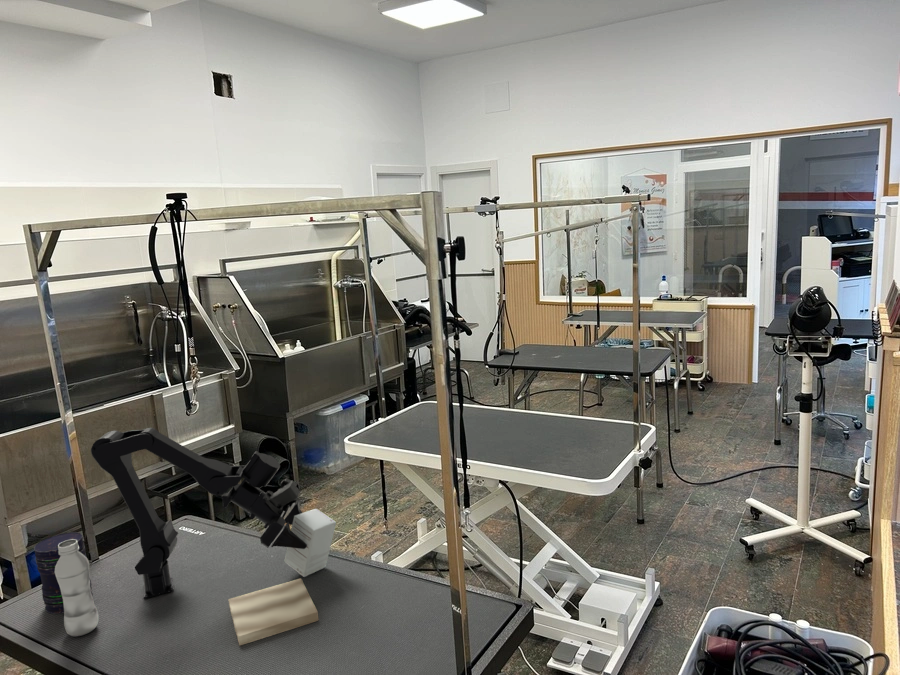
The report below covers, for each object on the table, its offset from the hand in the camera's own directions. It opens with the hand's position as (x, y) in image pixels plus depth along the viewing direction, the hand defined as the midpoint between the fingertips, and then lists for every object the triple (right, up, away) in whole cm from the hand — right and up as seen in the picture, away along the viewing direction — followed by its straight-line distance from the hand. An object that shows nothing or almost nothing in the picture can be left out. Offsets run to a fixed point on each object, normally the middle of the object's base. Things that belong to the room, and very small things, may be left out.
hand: (309, 537), depth 157 cm
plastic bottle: (-45, -15, -17) cm, 50 cm away
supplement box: (-1, -7, +1) cm, 7 cm away
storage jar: (-55, -14, -4) cm, 57 cm away
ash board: (-4, -11, -16) cm, 20 cm away
